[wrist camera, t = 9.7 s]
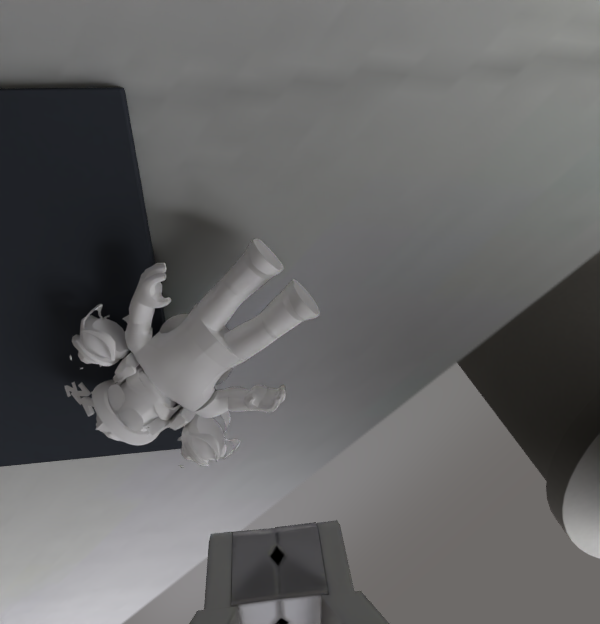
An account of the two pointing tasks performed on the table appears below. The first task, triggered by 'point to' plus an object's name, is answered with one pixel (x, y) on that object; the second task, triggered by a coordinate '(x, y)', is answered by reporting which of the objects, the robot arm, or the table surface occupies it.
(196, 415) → the cartoon character statuette
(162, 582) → the table surface
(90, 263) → the mat
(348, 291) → the table surface
